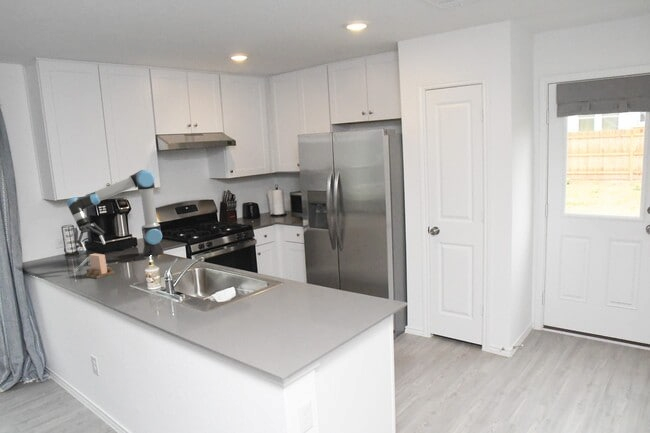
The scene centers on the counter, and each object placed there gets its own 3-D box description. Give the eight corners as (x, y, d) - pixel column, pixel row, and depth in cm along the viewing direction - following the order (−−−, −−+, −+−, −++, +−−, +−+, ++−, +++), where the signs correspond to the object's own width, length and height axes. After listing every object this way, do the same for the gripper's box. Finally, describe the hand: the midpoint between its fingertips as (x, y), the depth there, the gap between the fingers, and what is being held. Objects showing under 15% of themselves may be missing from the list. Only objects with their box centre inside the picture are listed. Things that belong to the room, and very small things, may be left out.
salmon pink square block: (91, 272, 305) (89, 254, 303) (97, 270, 308) (95, 253, 306) (101, 274, 298) (98, 256, 296) (107, 272, 301) (104, 254, 299)
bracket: (95, 261, 335) (89, 250, 329) (81, 281, 318) (75, 271, 312) (91, 261, 336) (85, 250, 330) (77, 281, 318) (70, 271, 313)
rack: (85, 275, 303) (84, 270, 302) (102, 271, 313) (101, 265, 312) (97, 278, 294) (96, 272, 294) (114, 273, 304) (113, 267, 303)
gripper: (97, 215, 326) (110, 242, 326) (61, 226, 307) (74, 255, 307) (100, 212, 321) (114, 239, 321) (64, 223, 302) (78, 252, 302)
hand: (94, 247), depth 314 cm, fingers open, 13 cm apart
